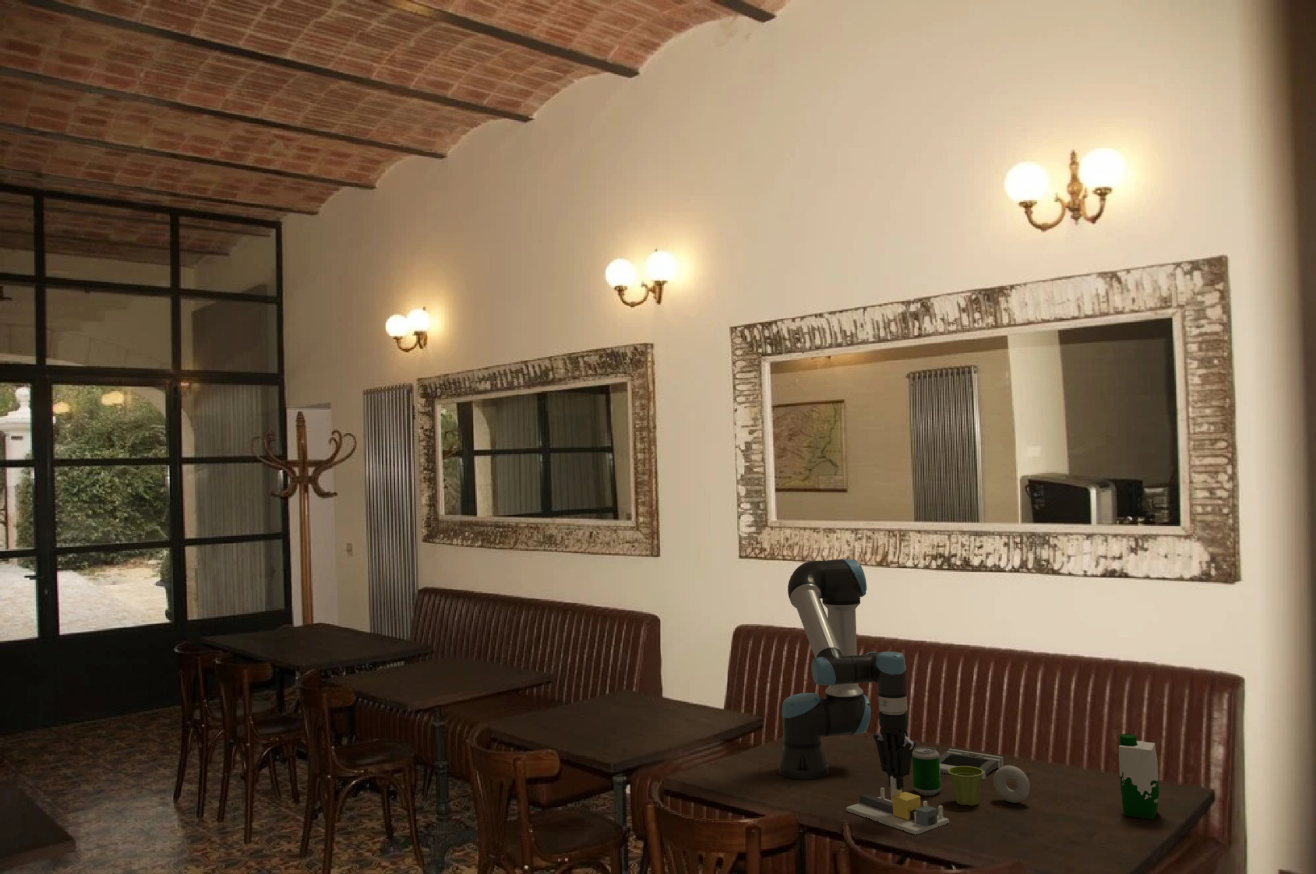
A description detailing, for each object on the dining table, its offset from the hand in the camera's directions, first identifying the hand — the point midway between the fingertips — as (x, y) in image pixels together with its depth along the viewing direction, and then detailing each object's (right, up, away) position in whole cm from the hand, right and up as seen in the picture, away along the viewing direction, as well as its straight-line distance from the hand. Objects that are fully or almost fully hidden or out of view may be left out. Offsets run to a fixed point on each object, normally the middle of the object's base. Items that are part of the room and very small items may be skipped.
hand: (896, 800), depth 270 cm
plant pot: (+22, -4, +9) cm, 24 cm away
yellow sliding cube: (+2, -3, -3) cm, 4 cm away
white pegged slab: (0, -4, 0) cm, 4 cm away
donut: (+34, -4, +8) cm, 35 cm away
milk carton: (+63, -2, -4) cm, 63 cm away
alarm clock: (+31, -5, +40) cm, 51 cm away
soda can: (+13, -5, +19) cm, 24 cm away
